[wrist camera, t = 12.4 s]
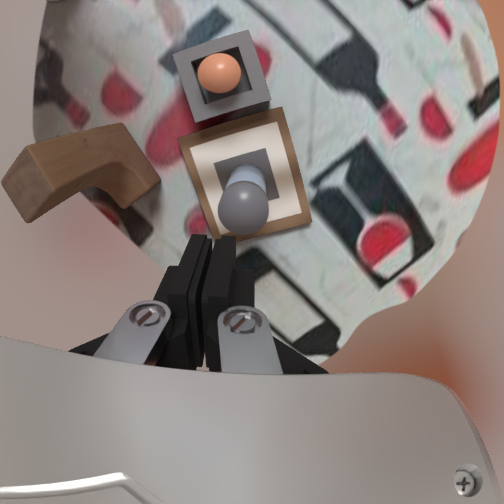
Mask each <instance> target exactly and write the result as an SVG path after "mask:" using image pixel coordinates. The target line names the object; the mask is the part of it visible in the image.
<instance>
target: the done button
mask: <svg viewBox="0 0 504 504" xmlns="http://www.w3.org/2000/svg"><path fill="white" fill-rule="evenodd" d="M241 77H242V73H241V69H240V66H239V64H238V62H237V61H236V60H235V59H234V58H233V57H232V56H230V55H227V54H223V53H217V54H212V55H210V56H208V57H207V58H205V59H204V60H203V61H202V62H201V64H200V66H199V68H198V79H199V82H200V83H201V85H202V86H203V87H204V88H205V89H207V90H209V91H211V92H214V93H219V94H224V93H228V92H231V91H232V90H234V89H235V88H236V87H237V86H238V85H239V83H240V81H241Z"/></svg>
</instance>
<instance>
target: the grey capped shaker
mask: <svg viewBox="0 0 504 504" xmlns="http://www.w3.org/2000/svg"><path fill="white" fill-rule="evenodd" d="M268 215H269V206H268V198H267V195H266V184H265V176H264V173H263V172H262V170H261V169H260V168H259V167H257V166H256V165H253V164H249V163H245V164H241V165H239V166H237V167H236V168H234V170H233V171H232V172H231V175H230V177H229V180H228V183H227V185H226V188H225V190H224V192H223V194H222V196H221V199H220V201H219V204H218V217H219V220H220V222H221V223H222V225H223V226H224V227H225V228H226V229H227V230H229V231H230V232H233V233H235V234H239V235H248V234H252V233H255V232H257V231H258V230H260V229H261V228H262V227H263V226H264V225H265V223H266V221H267V219H268Z"/></svg>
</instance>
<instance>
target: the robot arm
mask: <svg viewBox="0 0 504 504" xmlns="http://www.w3.org/2000/svg"><path fill="white" fill-rule="evenodd" d="M47 1H60V0H47ZM235 267H236V236H228V235H222V236H221V239H216V240H215V244H214V248H213V251H212V239H208V238H207V235H200V234H192V235H191V238H190V240H189V242H188V245H187V247H186V249H185V251H184V254H183V256H182V258H181V261H180V263H179V265H178V266H169V267H168V268H167V271H166V273H165V275H164V277H163V279H162V282H161V283H160V286H159V288H158V290H157V292H156V294H155V297H154V299H153V300H147V301H141V302H138V303H136V304H134V305H132V306H131V307H130V308H128V310H127V311H126V312H125V313H124V314H123V316H122V317H121V318H120V320H119V321H118V322H117V324H116V325H115V326H114V328H113V329H112V330H111V332H110V333H108V334H105V335H103V336H101V337H99V338H96V339H94V340H92V341H89V342H87V343H85V344H82V345H80V346H78V347H75V348H73V349H71V350H69V351H63V350H58V349H54V348H50V347H46V346H41V345H37V344H33V343H30V342H25V341H21V340H16V339H12V338H8V337H2V336H0V504H504V500H503V497H502V494H501V490H500V487H499V483H498V480H497V477H496V474H495V471H494V468H493V465H492V462H491V459H490V457H489V454H488V452H487V449H486V447H485V444H484V442H483V440H482V438H481V436H480V433H479V431H478V429H477V427H476V425H475V423H474V421H473V419H472V417H471V416H470V414H469V412H468V411H467V409H466V407H465V406H464V404H463V403H462V402H461V400H460V399H459V397H458V396H457V395H456V394H455V393H454V392H453V391H452V390H451V389H450V388H449V387H447V386H446V385H444V384H442V383H440V382H438V381H435V380H432V379H429V378H425V377H421V376H416V375H411V374H401V373H391V372H389V373H386V372H368V373H339V374H338V373H334V374H333V373H332V374H330V373H328V372H327V371H326V370H325V369H323V368H321V367H320V366H318V365H317V364H315V363H313V362H312V361H310V360H309V359H307V358H306V357H304V356H302V355H301V354H299V353H298V352H296V351H295V350H293V349H292V348H290V347H289V346H287V345H285V344H284V343H282V342H281V341H279V340H278V339H276V338H275V337H273V336H272V333H271V329H270V326H269V322H268V319H267V317H266V315H265V314H264V313H263V312H261V311H260V310H258V309H256V308H254V269H235ZM204 354H205V357H206V367H208V368H209V371H198V370H196V368H197V367H202V365H203V359H204Z"/></svg>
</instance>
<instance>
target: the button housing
mask: <svg viewBox="0 0 504 504" xmlns="http://www.w3.org/2000/svg"><path fill="white" fill-rule="evenodd" d="M217 53H223V54H227V55H230V56H232V57H233V58H234V59H235V60H236V61H237V62H238V64H239V66H240V69H241V73H242V77H241V81H240V83H239V85H238V86H237V87H236V88H235V89H234V90H232V91H231V92H228V93H224V94H219V93H214V92H211V91H209V90H207V89H205V88H204V87H203V86H202V85H201V83H200V82H199V79H198V68H199V66H200V64H201V62H202V61H203V60H204V59H205V58H207V57H208V56H210V55H212V54H217ZM173 57H174V60H175V63H176V66H177V69H178V72H179V75H180V78H181V81H182V84H183V88H184V91H185V94H186V97H187V100H188V103H189V106H190V109H191V111H192V114H193V117H194V120H195V123H196V122H200V121H203V120H206V119H209V118H212V117H215V116H219V115H222V114H225V113H228V112H231V111H235V110H238V109H241V108H245V107H248V106H252V105H255V104H259V103H263V102H267V101H270V100H271V96H270V93H269V90H268V87H267V83H266V80H265V77H264V74H263V71H262V68H261V65H260V62H259V59H258V56H257V53H256V50H255V47H254V44H253V41H252V38H251V35H250V33H249V30H246V31H242V32H238V33H235V34H231V35H228V36H224V37H221V38H218V39H215V40H212V41H208V42H205V43H202V44H200V45H197V46H194V47H191V48H188V49H186V50H183V51H180V52H178V53H175V54H173Z"/></svg>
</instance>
